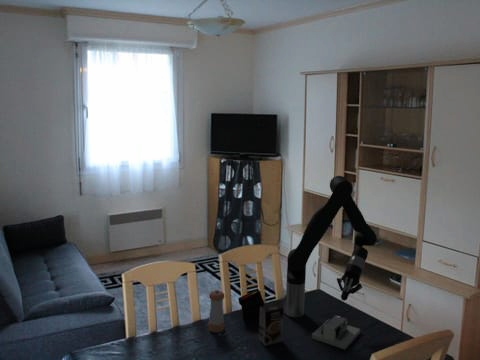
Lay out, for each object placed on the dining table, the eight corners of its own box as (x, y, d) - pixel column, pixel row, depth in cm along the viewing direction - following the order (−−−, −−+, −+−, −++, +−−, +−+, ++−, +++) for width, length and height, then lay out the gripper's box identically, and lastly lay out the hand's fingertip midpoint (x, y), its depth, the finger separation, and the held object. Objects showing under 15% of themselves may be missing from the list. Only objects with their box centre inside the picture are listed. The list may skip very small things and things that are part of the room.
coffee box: (265, 346, 209) (266, 312, 206) (258, 339, 214) (259, 306, 211) (282, 341, 213) (284, 308, 210) (275, 335, 218) (276, 302, 215)
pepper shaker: (212, 333, 218) (213, 294, 215) (206, 327, 224) (206, 288, 221) (226, 330, 222) (227, 291, 218) (219, 323, 228) (220, 286, 224)
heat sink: (320, 333, 217) (321, 325, 216) (328, 326, 223) (328, 318, 222) (341, 340, 211) (341, 332, 210) (348, 333, 217) (348, 325, 217)
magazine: (272, 317, 232) (259, 291, 229) (247, 328, 232) (234, 303, 229) (270, 313, 236) (258, 288, 233) (246, 325, 236) (234, 299, 232)
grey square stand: (311, 338, 216) (312, 320, 215) (328, 323, 231) (329, 306, 229) (344, 349, 207) (346, 331, 206) (360, 333, 222) (361, 316, 220)
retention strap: (335, 317, 223) (323, 327, 213) (335, 314, 223) (324, 325, 213) (346, 320, 220) (335, 331, 210) (346, 318, 220) (335, 328, 210)
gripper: (340, 260, 230) (328, 292, 222) (366, 266, 222) (355, 300, 215) (344, 267, 235) (332, 299, 227) (370, 274, 228) (358, 307, 220)
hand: (343, 299), depth 221 cm, fingers closed
